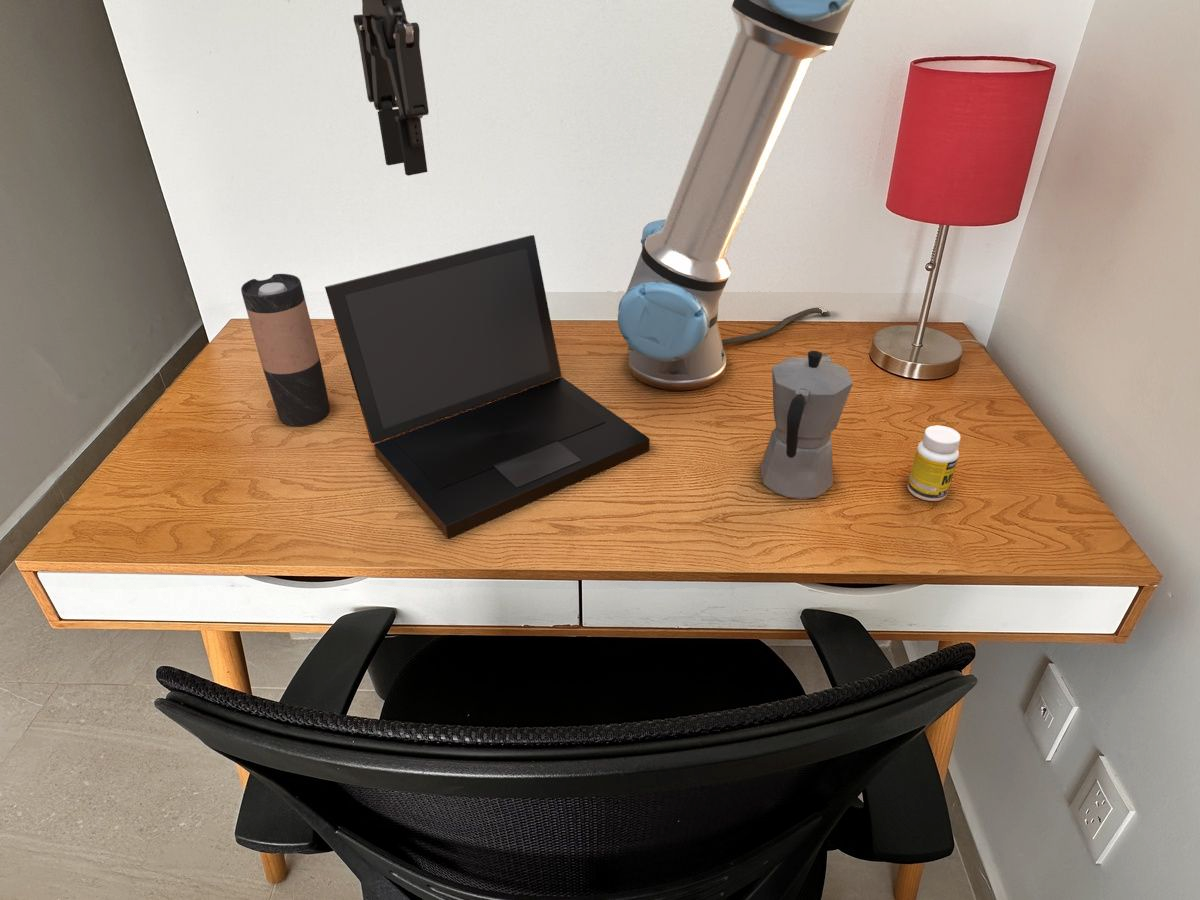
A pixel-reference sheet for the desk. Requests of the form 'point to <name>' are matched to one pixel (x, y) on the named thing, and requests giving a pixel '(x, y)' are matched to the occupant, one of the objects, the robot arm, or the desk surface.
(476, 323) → the laptop screen
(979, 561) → the desk surface
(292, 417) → the travel mug
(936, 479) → the supplement bottle
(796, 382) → the coffeepot
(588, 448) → the laptop
